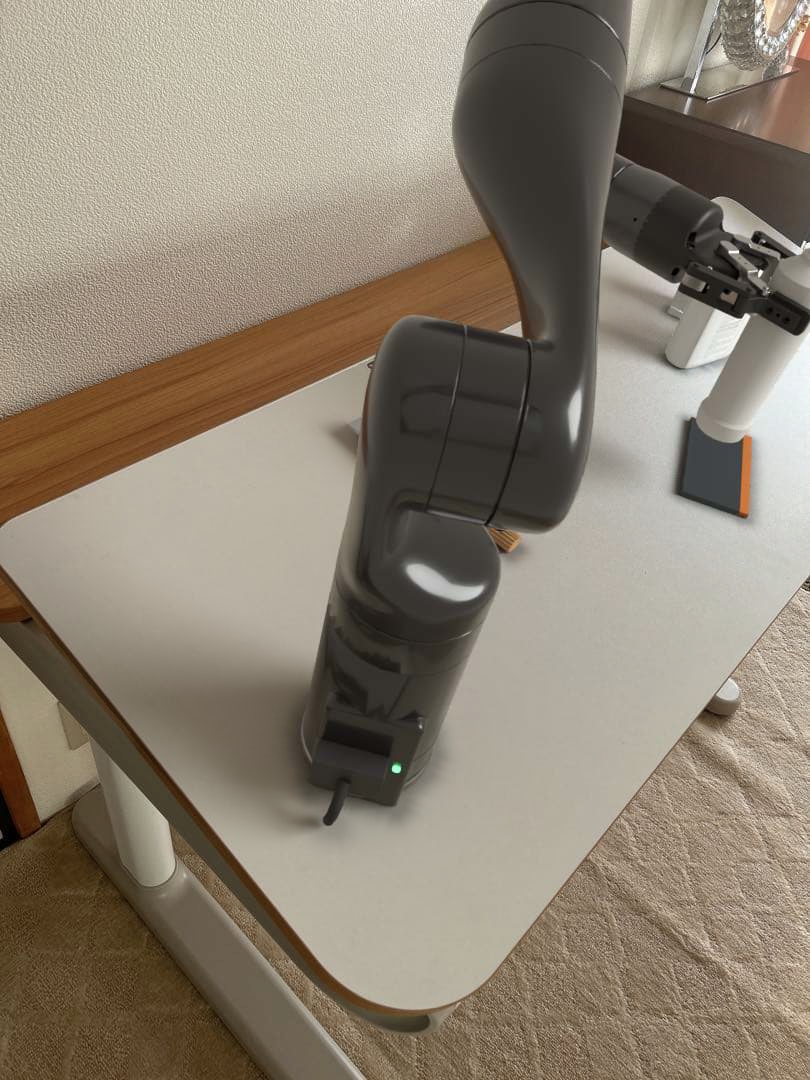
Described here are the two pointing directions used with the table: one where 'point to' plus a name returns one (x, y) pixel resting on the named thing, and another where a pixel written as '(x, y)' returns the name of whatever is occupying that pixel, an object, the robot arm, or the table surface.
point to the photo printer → (703, 335)
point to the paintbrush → (502, 537)
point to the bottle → (756, 360)
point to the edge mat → (717, 471)
